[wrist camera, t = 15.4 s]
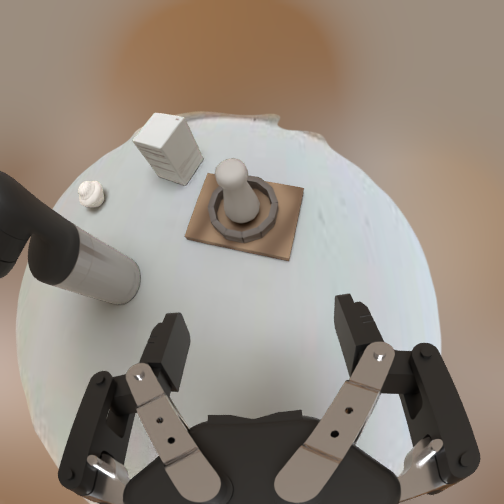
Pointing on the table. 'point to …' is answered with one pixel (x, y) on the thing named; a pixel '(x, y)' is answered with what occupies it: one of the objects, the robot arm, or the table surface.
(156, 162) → the supplement box
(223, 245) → the socket base
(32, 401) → the table surface
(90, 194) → the muffin
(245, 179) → the salt shaker
